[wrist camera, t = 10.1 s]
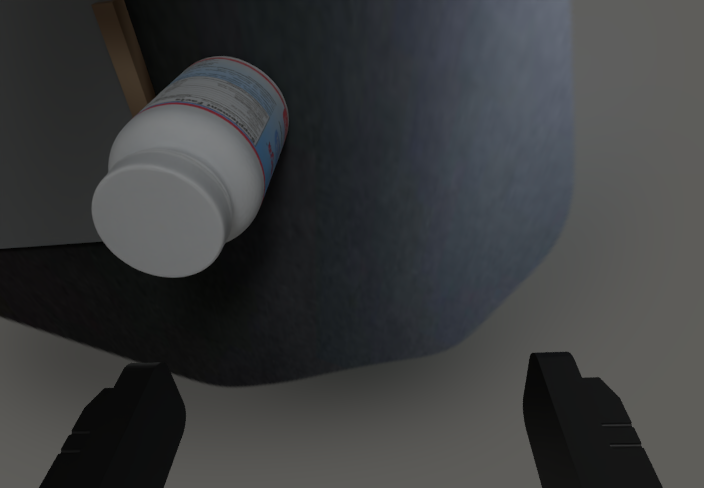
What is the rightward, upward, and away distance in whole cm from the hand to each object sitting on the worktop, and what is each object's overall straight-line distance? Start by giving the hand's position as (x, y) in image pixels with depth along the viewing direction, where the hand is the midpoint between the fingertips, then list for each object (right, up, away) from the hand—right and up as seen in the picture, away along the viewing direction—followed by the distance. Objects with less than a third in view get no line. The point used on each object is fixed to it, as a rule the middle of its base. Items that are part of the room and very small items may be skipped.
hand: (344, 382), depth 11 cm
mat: (-18, +9, +17) cm, 26 cm away
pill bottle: (-6, +10, +16) cm, 20 cm away
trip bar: (-10, +10, +16) cm, 21 cm away
